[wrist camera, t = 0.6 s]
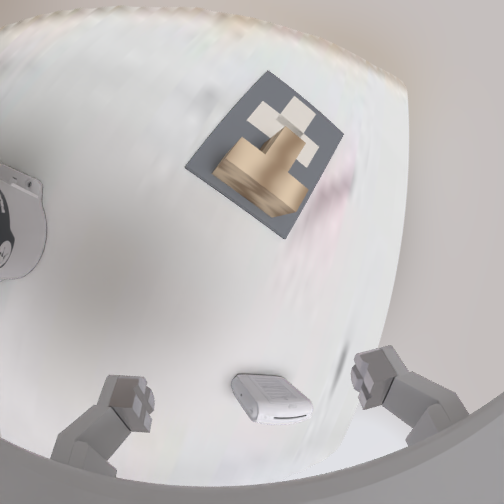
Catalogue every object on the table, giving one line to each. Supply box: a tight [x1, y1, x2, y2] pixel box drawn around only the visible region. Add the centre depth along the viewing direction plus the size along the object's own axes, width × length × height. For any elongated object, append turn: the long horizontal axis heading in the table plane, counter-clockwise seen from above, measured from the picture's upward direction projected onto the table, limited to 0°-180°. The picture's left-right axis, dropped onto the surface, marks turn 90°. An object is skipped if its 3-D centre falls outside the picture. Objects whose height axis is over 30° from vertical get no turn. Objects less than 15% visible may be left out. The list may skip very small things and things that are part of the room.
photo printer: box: [231, 374, 313, 425], centre depth 40 cm, size 10×4×12 cm, turn 76°
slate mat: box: [185, 71, 344, 239], centre depth 46 cm, size 20×26×1 cm
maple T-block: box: [212, 126, 308, 218], centre depth 41 cm, size 12×10×8 cm
